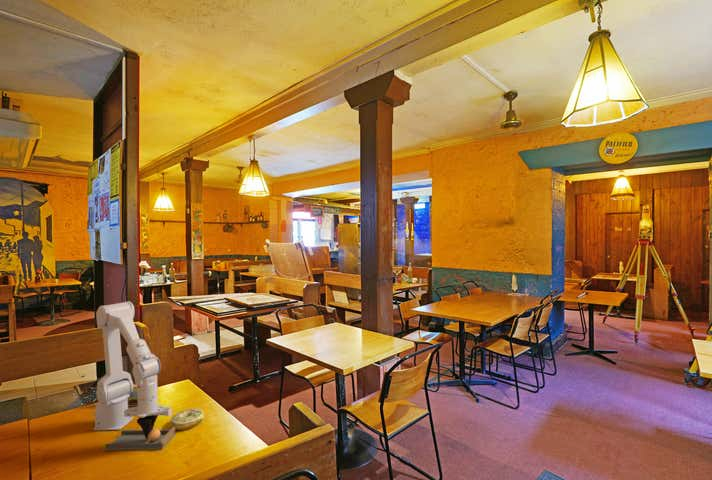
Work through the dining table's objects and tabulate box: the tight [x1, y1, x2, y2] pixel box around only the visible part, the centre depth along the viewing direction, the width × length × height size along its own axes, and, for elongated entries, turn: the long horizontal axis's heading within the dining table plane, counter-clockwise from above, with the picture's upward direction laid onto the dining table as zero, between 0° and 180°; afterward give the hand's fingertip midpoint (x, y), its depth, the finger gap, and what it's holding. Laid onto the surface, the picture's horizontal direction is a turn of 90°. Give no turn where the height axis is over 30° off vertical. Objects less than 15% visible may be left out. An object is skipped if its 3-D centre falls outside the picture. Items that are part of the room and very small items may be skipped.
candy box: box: [128, 384, 138, 407], centre depth 139 cm, size 16×2×8 cm, turn 87°
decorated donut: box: [169, 407, 205, 431], centre depth 125 cm, size 10×11×4 cm
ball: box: [148, 428, 161, 441], centre depth 114 cm, size 4×4×4 cm
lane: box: [104, 426, 176, 451], centre depth 114 cm, size 18×8×3 cm, turn 90°
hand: (148, 436), depth 114 cm, fingers closed, pressing on ball
